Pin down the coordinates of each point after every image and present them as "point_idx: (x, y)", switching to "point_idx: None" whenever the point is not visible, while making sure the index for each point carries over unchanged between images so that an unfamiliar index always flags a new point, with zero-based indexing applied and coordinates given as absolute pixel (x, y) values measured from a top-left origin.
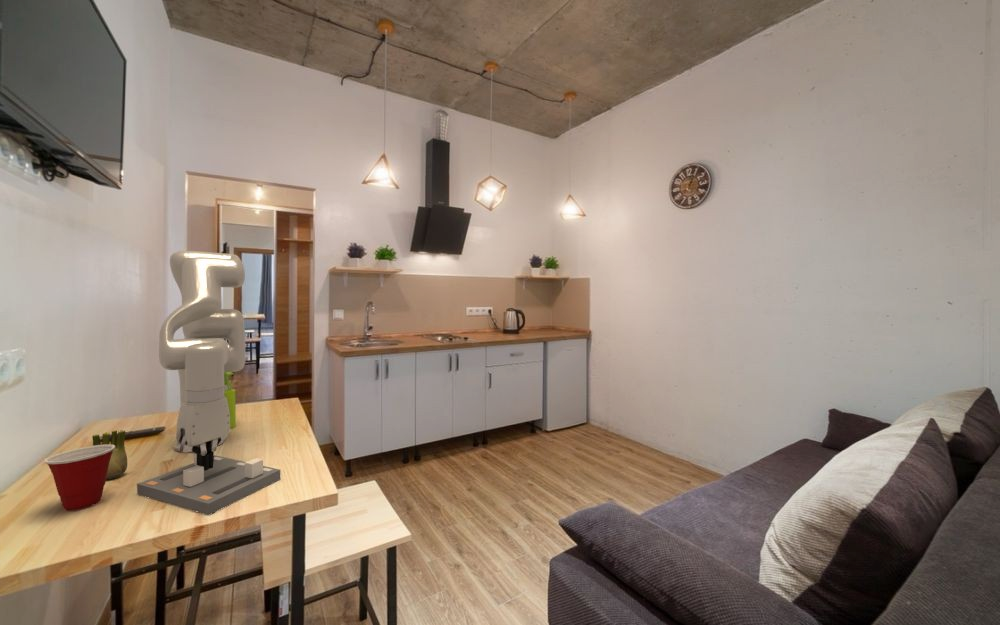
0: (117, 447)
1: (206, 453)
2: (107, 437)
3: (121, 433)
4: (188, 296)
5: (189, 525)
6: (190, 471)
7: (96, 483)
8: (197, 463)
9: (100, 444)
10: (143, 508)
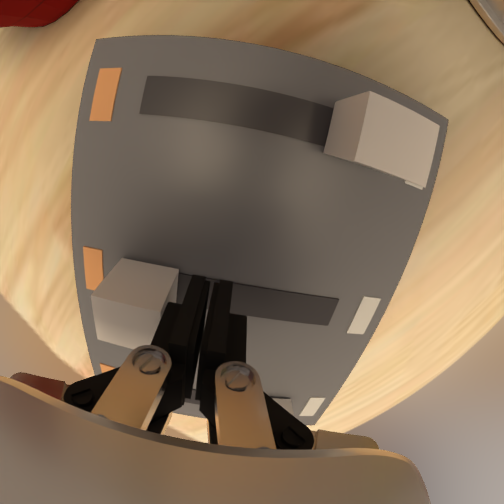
0: None
1: (183, 394)
2: None
3: None
4: None
5: (73, 361)
6: (100, 336)
7: (1, 19)
8: (164, 315)
9: None
10: (54, 184)
